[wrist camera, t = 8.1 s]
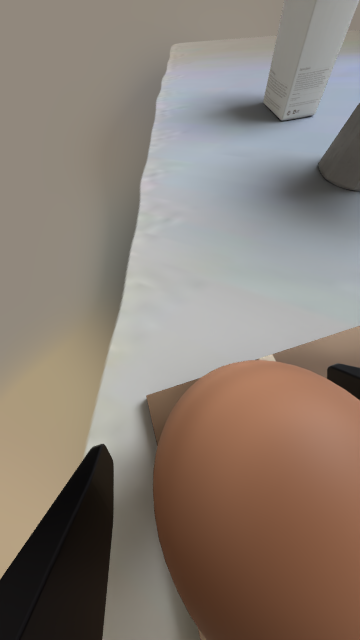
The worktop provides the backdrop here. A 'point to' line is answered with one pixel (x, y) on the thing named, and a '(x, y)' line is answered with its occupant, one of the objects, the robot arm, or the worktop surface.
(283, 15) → the skincare box
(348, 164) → the coffeepot
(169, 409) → the walnut board
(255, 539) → the wooden pin
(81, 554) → the robot arm
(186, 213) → the worktop surface
